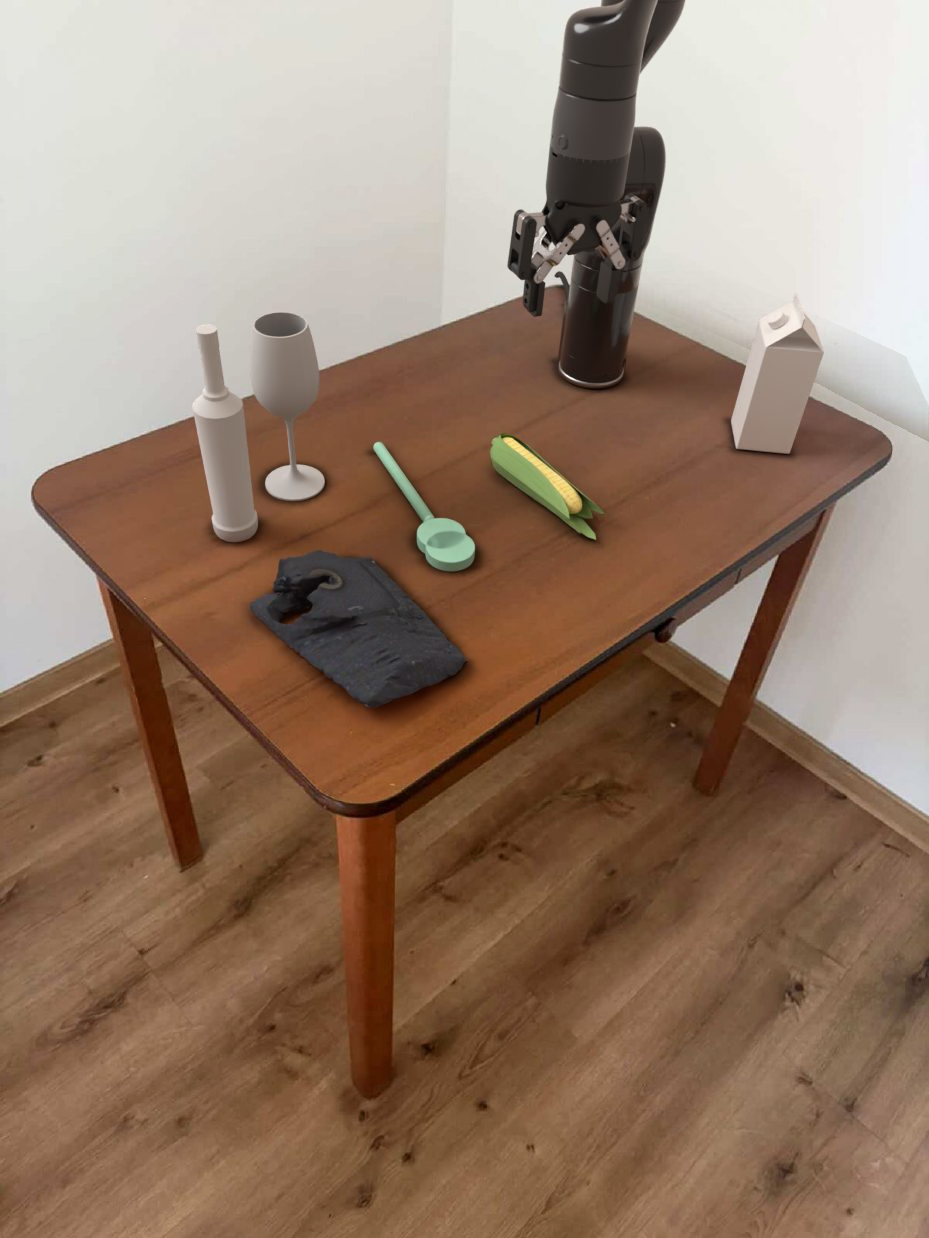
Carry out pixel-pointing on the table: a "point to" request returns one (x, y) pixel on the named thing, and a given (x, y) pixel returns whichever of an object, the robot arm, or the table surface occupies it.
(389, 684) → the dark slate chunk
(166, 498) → the table surface
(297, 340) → the wineglass
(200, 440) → the bottle
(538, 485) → the edible corn
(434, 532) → the spoon
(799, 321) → the milk carton
